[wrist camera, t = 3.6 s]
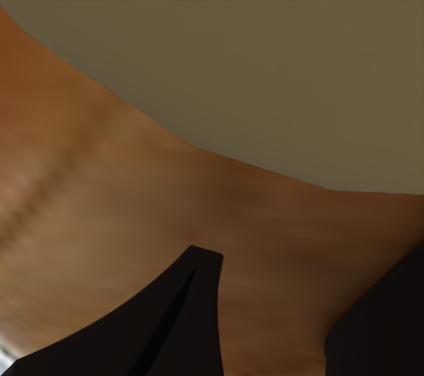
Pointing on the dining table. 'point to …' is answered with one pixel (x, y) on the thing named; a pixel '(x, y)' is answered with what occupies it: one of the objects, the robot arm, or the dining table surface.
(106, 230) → the dining table surface
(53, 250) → the dining table surface
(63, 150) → the dining table surface
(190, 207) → the dining table surface
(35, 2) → the cork
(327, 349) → the film camera
